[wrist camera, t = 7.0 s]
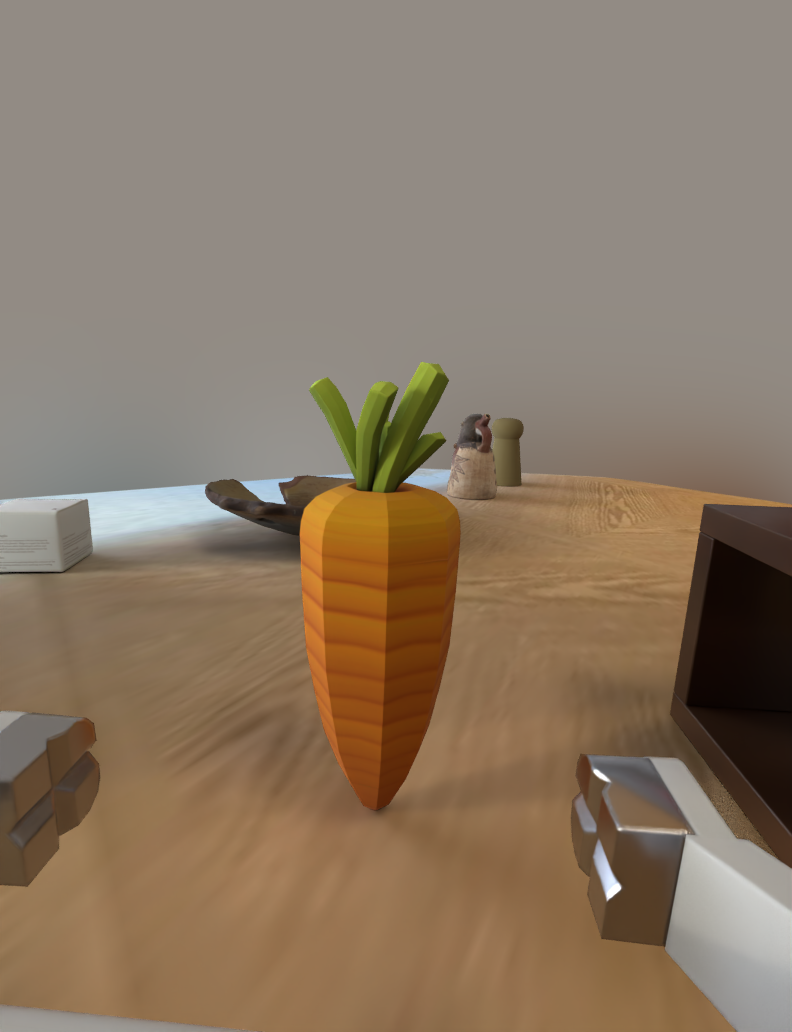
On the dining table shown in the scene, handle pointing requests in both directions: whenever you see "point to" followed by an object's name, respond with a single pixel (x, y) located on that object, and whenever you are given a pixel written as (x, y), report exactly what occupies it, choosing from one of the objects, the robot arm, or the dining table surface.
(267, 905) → the dining table surface
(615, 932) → the robot arm
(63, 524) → the small box
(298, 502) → the broken bowl
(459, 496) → the figurine
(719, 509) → the wooden desk organizer
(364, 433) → the carrot
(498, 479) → the chess pawn
